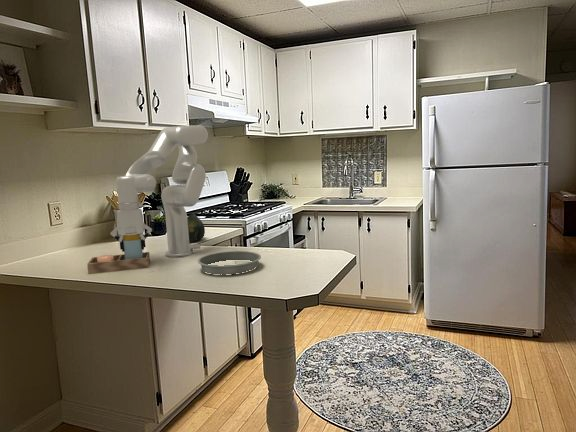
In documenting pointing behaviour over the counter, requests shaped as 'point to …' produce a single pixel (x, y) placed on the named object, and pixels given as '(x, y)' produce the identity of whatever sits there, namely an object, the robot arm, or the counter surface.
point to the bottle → (132, 244)
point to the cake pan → (229, 256)
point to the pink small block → (105, 258)
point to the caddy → (118, 264)
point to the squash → (195, 228)
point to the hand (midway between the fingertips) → (133, 249)
